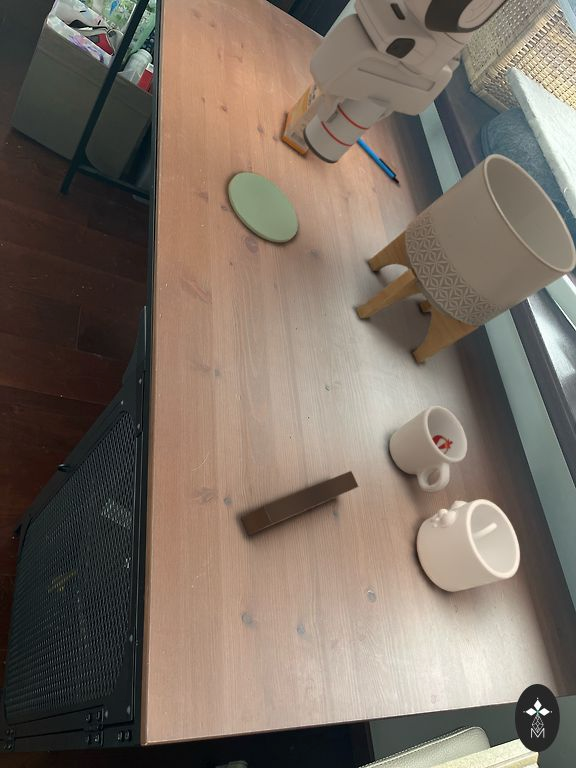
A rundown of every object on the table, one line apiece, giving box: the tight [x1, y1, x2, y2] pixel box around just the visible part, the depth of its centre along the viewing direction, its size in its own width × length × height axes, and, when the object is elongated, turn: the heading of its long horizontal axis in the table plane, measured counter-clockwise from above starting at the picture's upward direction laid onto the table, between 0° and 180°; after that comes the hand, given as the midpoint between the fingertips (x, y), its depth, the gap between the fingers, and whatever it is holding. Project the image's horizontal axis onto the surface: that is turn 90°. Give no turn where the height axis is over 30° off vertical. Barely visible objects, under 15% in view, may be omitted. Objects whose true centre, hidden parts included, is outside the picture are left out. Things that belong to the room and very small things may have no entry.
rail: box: [240, 470, 359, 536], centre depth 68 cm, size 14×2×4 cm, turn 120°
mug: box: [416, 498, 521, 592], centre depth 79 cm, size 12×10×9 cm
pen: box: [356, 137, 400, 184], centre depth 118 cm, size 1×19×1 cm, turn 63°
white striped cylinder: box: [303, 97, 390, 165], centre depth 78 cm, size 6×11×11 cm
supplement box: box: [281, 80, 325, 156], centre depth 101 cm, size 8×5×13 cm, turn 171°
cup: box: [389, 405, 468, 493], centre depth 82 cm, size 11×8×8 cm
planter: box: [356, 153, 576, 363], centre depth 91 cm, size 19×19×26 cm
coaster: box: [227, 171, 299, 243], centre depth 91 cm, size 12×12×1 cm
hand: (341, 122), depth 79 cm, fingers closed on white striped cylinder, 6 cm apart
